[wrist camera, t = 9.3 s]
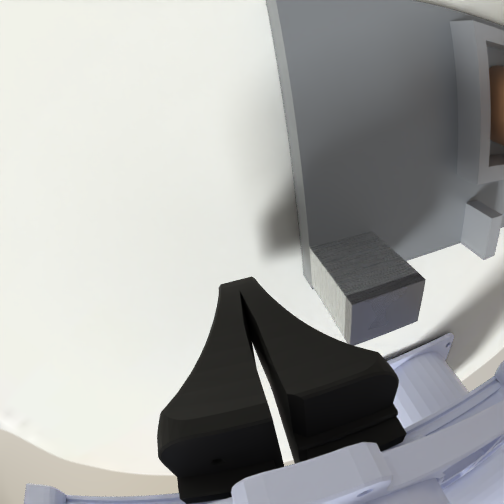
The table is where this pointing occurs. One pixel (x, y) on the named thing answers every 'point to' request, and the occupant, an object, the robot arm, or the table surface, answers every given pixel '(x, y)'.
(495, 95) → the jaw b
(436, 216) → the housing
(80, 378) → the table surface
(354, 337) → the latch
